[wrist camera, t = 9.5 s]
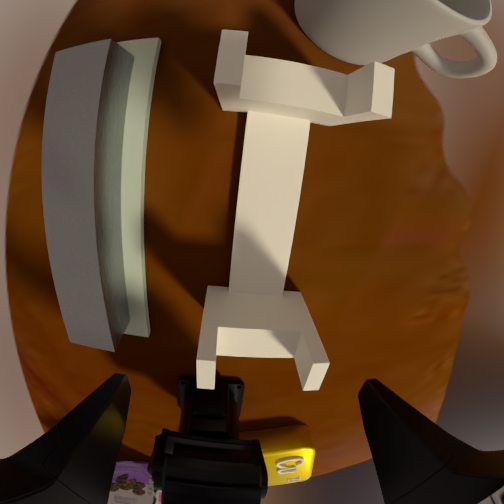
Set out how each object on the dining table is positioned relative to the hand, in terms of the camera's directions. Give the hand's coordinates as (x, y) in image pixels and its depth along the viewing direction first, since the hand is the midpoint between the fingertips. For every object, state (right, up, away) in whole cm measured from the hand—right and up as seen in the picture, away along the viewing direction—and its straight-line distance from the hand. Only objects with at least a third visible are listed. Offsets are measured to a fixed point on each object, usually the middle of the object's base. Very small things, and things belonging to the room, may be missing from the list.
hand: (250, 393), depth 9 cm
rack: (+1, +8, +10) cm, 13 cm away
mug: (+9, +21, +5) cm, 24 cm away
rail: (-11, +9, +8) cm, 16 cm away
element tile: (+1, -24, +23) cm, 34 cm away
